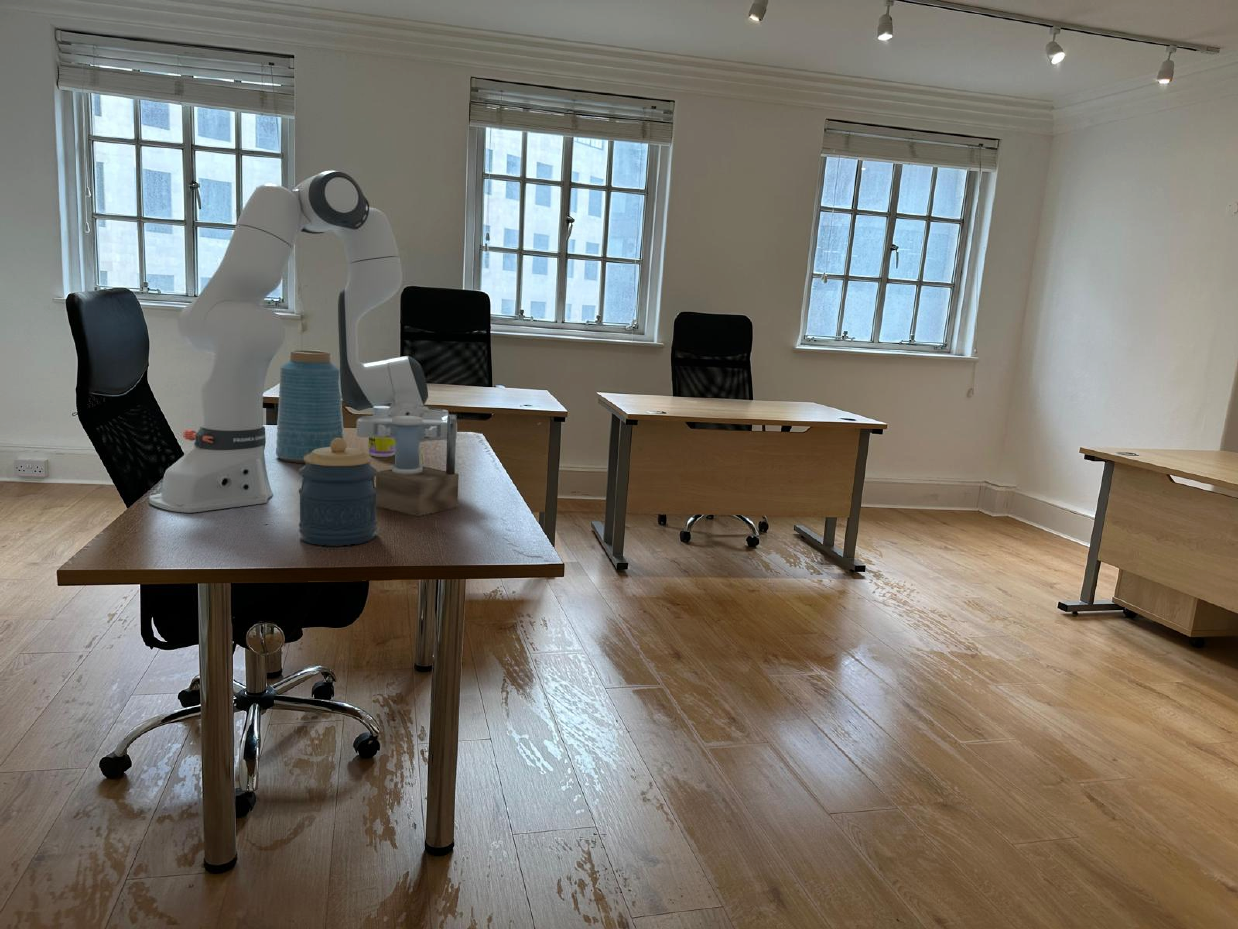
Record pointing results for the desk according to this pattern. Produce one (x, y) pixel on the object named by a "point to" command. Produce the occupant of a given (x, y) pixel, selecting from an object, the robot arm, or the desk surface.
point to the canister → (337, 496)
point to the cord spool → (407, 445)
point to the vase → (308, 405)
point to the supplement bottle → (381, 445)
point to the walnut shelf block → (417, 491)
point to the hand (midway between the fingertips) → (407, 433)
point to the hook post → (451, 444)
